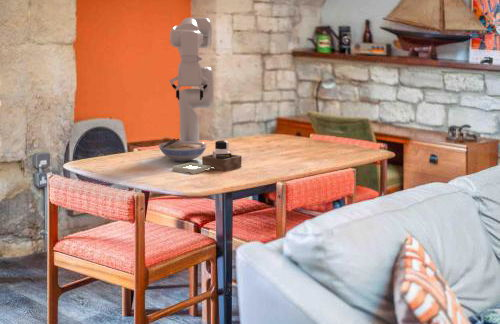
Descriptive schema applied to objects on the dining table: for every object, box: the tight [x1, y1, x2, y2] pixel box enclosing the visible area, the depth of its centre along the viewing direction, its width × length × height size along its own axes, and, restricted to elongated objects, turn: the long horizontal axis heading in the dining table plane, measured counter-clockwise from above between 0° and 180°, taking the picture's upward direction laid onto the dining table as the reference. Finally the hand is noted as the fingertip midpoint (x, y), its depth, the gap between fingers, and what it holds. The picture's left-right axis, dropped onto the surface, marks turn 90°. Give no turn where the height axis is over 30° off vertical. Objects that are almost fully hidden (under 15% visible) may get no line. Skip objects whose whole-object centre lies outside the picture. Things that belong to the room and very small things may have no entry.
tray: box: [171, 162, 211, 175], centre depth 336 cm, size 12×12×2 cm
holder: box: [201, 153, 243, 172], centre depth 343 cm, size 13×13×5 cm
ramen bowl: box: [158, 138, 208, 162], centre depth 358 cm, size 25×23×8 cm
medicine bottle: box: [212, 139, 232, 159], centre depth 343 cm, size 7×7×12 cm
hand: (189, 99), depth 331 cm, fingers open, 9 cm apart
